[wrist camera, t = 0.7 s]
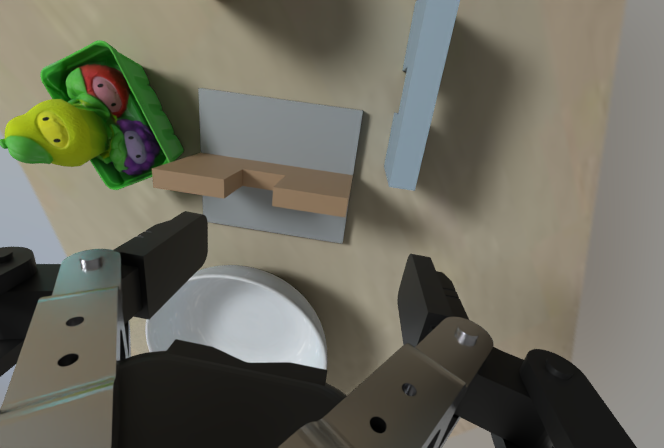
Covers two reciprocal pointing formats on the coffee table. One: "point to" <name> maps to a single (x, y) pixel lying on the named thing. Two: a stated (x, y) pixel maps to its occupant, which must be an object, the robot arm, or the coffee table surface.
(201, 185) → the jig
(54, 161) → the fruit basket
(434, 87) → the slotted plate
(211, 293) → the serving bowl
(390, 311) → the coffee table surface
